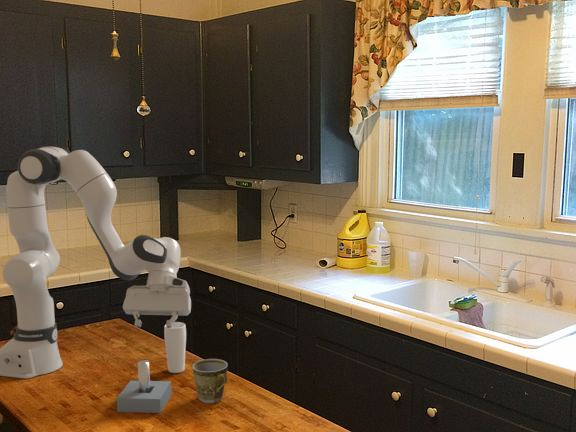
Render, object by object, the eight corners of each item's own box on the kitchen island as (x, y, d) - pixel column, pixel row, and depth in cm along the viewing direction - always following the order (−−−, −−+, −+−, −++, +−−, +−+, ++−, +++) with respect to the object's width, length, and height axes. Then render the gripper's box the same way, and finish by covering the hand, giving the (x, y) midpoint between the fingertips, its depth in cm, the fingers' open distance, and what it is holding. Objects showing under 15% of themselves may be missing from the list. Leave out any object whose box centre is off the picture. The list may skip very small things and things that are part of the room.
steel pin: (137, 405, 181) (136, 364, 179) (141, 400, 184) (139, 360, 182) (149, 405, 180) (147, 364, 179) (152, 400, 183) (150, 360, 182)
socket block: (117, 411, 177) (116, 397, 176) (131, 393, 188) (130, 380, 188) (160, 413, 176) (159, 399, 175) (171, 394, 187) (171, 381, 187)
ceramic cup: (186, 397, 185) (185, 364, 184) (215, 388, 192) (215, 356, 190) (211, 413, 175) (210, 378, 174) (241, 402, 182) (240, 368, 180)
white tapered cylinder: (177, 365, 210) (176, 320, 208) (191, 369, 206) (190, 324, 204) (161, 371, 205) (159, 325, 203) (175, 376, 201) (173, 330, 199)
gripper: (125, 280, 197) (115, 320, 189) (191, 281, 196) (184, 322, 187) (130, 290, 202) (121, 330, 194) (195, 291, 201) (188, 332, 192)
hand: (153, 326), depth 191 cm, fingers open, 8 cm apart
